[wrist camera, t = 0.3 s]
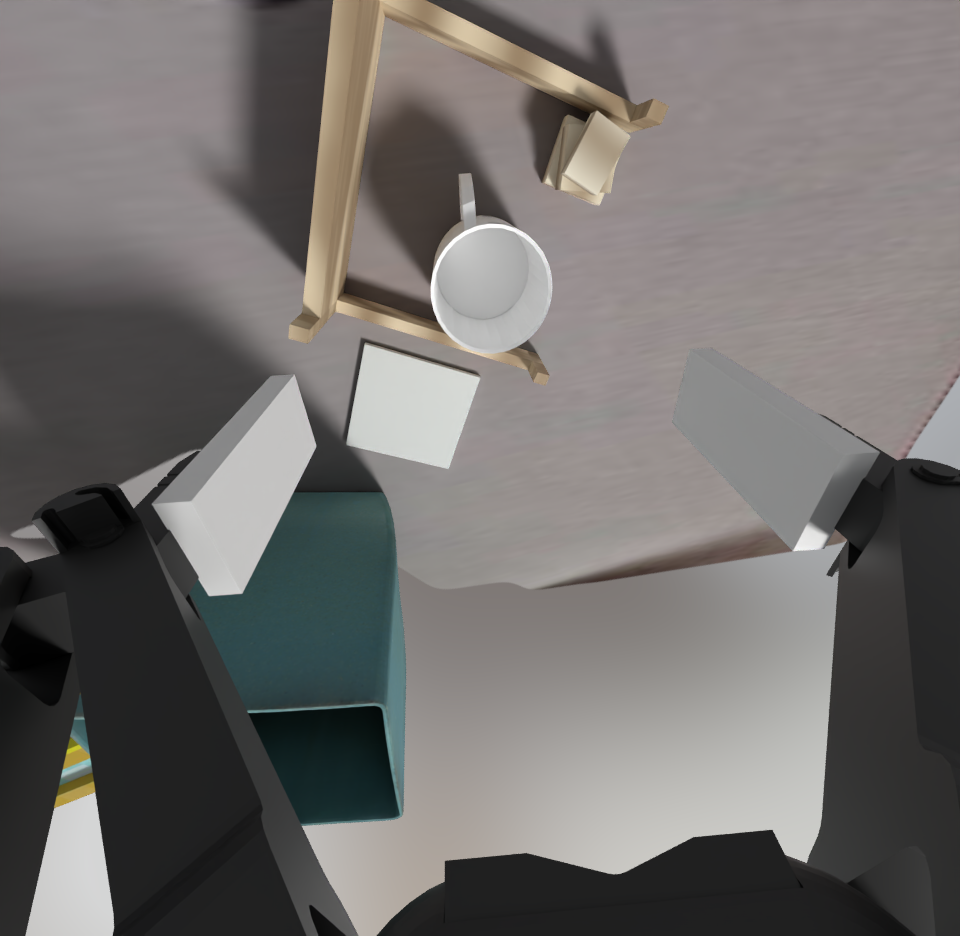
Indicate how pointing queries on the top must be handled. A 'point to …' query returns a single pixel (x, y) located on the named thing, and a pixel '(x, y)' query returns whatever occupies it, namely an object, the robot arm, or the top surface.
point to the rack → (345, 134)
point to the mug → (488, 281)
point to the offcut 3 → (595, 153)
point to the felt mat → (409, 406)
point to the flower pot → (321, 656)
